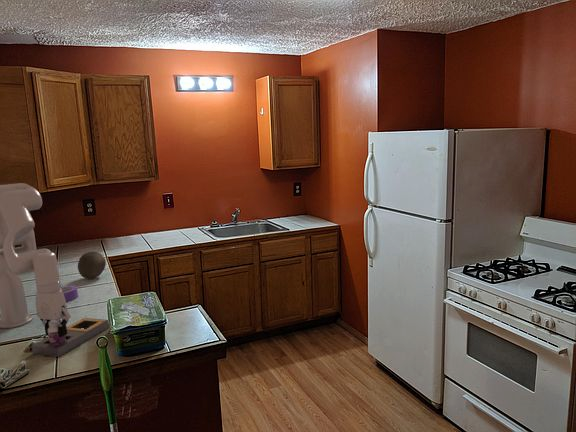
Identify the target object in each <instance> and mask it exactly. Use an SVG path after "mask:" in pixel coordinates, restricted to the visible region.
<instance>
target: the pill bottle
mask: <svg viewBox="0 0 576 432" xmlns="http://www.w3.org/2000/svg"><path fill="white" fill-rule="evenodd" d="M60 321H61V322H62V319H60ZM58 327H59V325H58V323H57V321H56V320H51V321H49V328H48V336H47V337H49V342H50V344H53V345H59V344H60V343H62V342H64V341H66V337H65V336H63V337H59V333H58Z"/></svg>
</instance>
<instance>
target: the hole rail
mask: <svg viewBox="0 0 576 432" xmlns="http://www.w3.org/2000/svg"><path fill="white" fill-rule="evenodd" d="M108 321H109V319H103V318H101V319H100V318H90V317H88V318H87V317H84V318H81V319H79V320H77V321H76V322H73V323H71V324H69V325H68V326H66V328H67V334H66V335H65V337H66V338H67V339H68V340H66V341H64V342H62V343H60V344H59V345H53V344H50V342H49V336H47V337H46V338H44V339H41V340H40V341H38V342H36V343H34V344H31V350H32V354H33V355H38V356H39V355H40V356H48V357H57V358H60V357H61V356H63V355H65V354H66V353H68V352H70V351H71V350H73V349H74V348H76V347H78V346H79V345H81V344H83V343H84V342H86V341H89V340H90V339H92V338H93V337H95V336H97V335H99V334H100V333H102V332H104V331H105V330H107V329H108V327H109V328H110V324H108ZM85 327H89V328H85ZM81 328H85V329H81Z"/></svg>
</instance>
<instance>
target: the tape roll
mask: <svg viewBox="0 0 576 432" xmlns="http://www.w3.org/2000/svg"><path fill="white" fill-rule="evenodd" d="M61 290H62V291H63V294H64V297H65V300H66V303H69V302H72V301H75V300H76V298H77V299H78V297H79V293H78V287H77V286H76V285H63V286H61Z"/></svg>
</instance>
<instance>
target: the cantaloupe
mask: <svg viewBox="0 0 576 432" xmlns="http://www.w3.org/2000/svg"><path fill="white" fill-rule="evenodd" d="M78 259H79V260H78V262H77V271H78V273H79V275H80V276H81V277H83V279H86V280H94V279H96V278H97V277H100V275H102V273H103V272H104V270H105V268H106V265H107V260H106V258H105V257H104V255H102V254H101V253H99V252H98V251H87V252H85V253H83V254H82V255H81V256H80V257H79V258H78Z"/></svg>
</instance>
